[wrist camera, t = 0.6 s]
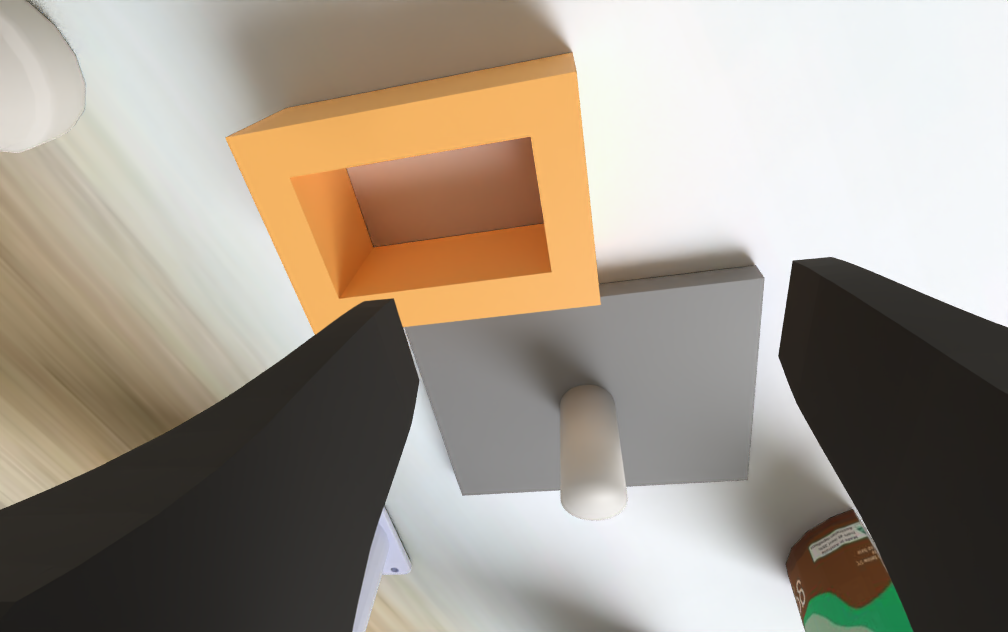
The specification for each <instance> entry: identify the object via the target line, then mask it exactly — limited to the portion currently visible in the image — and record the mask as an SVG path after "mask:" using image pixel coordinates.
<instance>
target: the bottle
mask: <svg viewBox="0 0 1008 632" xmlns="http://www.w3.org/2000/svg"><path fill="white" fill-rule="evenodd" d="M84 109H85V82H84V79H83V76H82V73H81V70H80V67H79V64H78V61H77V58H76V55H75V54H74V52H73V51H72V50H71V48H70V47H69V45H68V44H67V42H66V41H65V39H64V38H63V36H62V35H61V33H60V32H59V31H58V29H57V28H56V26H55V25H54V24H52V23H51V22H50V21H49V20H48V19H47V18H46V17H45V16H43V15H42V14H41V13H40V12H39V11H38V10H37V9H36V8H34V7H33V6H32V5H31V4H30V3H29V2H27V1H25V0H0V151H3V152H14V153H21V152H23V151H26V150H29V149H32V148H34V147H37V146H39V145H42V144H44V143H46V142H49V141H51V140H54V139H56V138H58V137H60V136H62V135H64V134H66V133H67V132H68V131H70V130H71V129H72V128H73V126H74V125H75V124H76V122H77V120H78V119H79V117H80V116H81V114H82V112H83V111H84Z"/></svg>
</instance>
